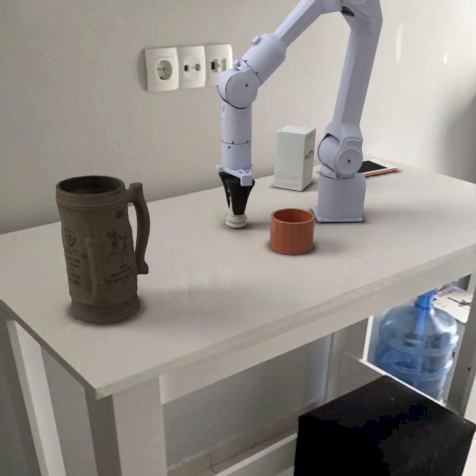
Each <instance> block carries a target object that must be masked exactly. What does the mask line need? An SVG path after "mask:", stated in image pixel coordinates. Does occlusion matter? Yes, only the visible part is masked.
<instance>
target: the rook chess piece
mask: <svg viewBox="0 0 476 476" xmlns="http://www.w3.org/2000/svg"><path fill="white" fill-rule="evenodd" d="M228 191H229V190H228ZM229 198H230V209H229V208H228V209H229V210H228V212H227V214H226V215H225V225H226V226H227V227H228V228H231V229H242V228H245V227H246V225H247V224H248V221H247V219H248V217H247V215H246V212H245V213H244V215H234V214H233V211H232V204H231V197H229Z"/></svg>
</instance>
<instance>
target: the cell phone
mask: <svg viewBox="0 0 476 476" xmlns="http://www.w3.org/2000/svg"><path fill="white" fill-rule="evenodd" d="M397 171H398V167H397V166H395V165H393V164H390V163H388V162H386V161H382V160H380V159H377V158H372V159H370V158H369V159H366V160H363V162H362V165H361V167H360V169H359V170H358V172H357V173H363V174H364V175H365V177H370V176H375V175H379V174H385V173H386V174H387V173H391V172H397Z"/></svg>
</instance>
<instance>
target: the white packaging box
mask: <svg viewBox="0 0 476 476" xmlns="http://www.w3.org/2000/svg"><path fill="white" fill-rule="evenodd" d="M316 134H317V127H313V126H312V127H310V126H304V125H302V126H301V125H293V124H292V125H291V124H287V125H284V126H283V127H282V128H280V129H278V130H276V132H275V150H274V153H275V154H274V171H273V187H274V188H280V189H284V190H291V191H292V190H293V191H298V192H302V191H303V190H304V189H305V188H306V187H308V186H309V185H310V184H312V182H313V174H314V173H313V172H314V162H315V161H314V159H315V148H316V147H315V146H316V136H317V135H316Z"/></svg>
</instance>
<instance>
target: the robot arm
mask: <svg viewBox="0 0 476 476" xmlns="http://www.w3.org/2000/svg"><path fill="white" fill-rule="evenodd" d="M337 12H339V13H340V14H341V15H342V17H343V19H344V20H345V21H346V23H347V25H348V26H349V28H350V31H349V37H348V41H347V46H346V51H345V56H344V60H343V66H342V70H341V76H340V81H339V85H338V90H337V95H336V100H335V104H334V110H333V114H332V118H331V120H330V122H329V123H328V124H327V125H326V126H325V128H324V132H323V135H322V138H321V139H320V140H319V142H318V144H317V146H316V158H317V160H318V162H320V168H319V177H318V179H319V180H318V190H317V191H318V192H317V204H316V206H313V207H312V208H311V209H312V210H311V211H312V213H313V214H314V215H315V220H316V221H317V222H318V223H347V222H348V223H350V222H351V223H355V222H356V223H357V222H360V223H361V222H363V220H364V218H363V215H364V214H363V213H364V208H365V207H364V206H365V198H366V190H367V189H366V188H367V179H366V176H365V175H364V174H363V173H357V172H358V170H359V169H360V167H361V165H362V162H363V161H364V154H363V143H364V137H363V132H362V130H361V126H360V124H361V120H362V114H363V110H364V106H365V102H366V97H367V93H368V89H369V85H370V80H371V75H372V72H373V67H374V62H375V59H376V58H375V57H376V54H377V49H378V45H379V41H380V36H381V32H382V27H383V22H384V18H383V12H382V6H381V1H380V0H299V2H298V3H297V4H296V5H295V7H294V8H293V9H292V10H291V11H290V13H289V14H288V15H287V16H286V18H285V19H284V20H283V21H282V22H281V24H279V26H278V27H277V28H276V30H275V31H274V32H273V33H262V35H261V36H258V35H256V36H255V37H253V39H252V40H251V43H252V46H250V48H249V49H248V50H247V51H246V52H245V53H244V54H243V55H242V56H241V58H240V59H235V60H234V61H233V64H232V65H233V67H231V68H227V69H226V70H224V71H223V72H222V74H221V75H220V77H219V79H218V80H219V81H218V83H217V84H216V91H217V94H218V96H219V97H220V99H221V114H220V121H221V122H220V126H221V127H220V131H221V133H220V134H221V136H220V137H221V138H220V139H221V141H220V143H221V162H220V163H217V164H215V169H216V170H217V171H218V176H219V178H220V181H221V184H222V186H223V191H224V193H225V198H226V199H225V200H226V203H227V208H228V209H230V198H229V197H231V204H232V211H233V214H234V215H244V213H245V214H246V209H247V205H248V200H249V197H250V195H251V192H252V190H253V188H254V186H255V185H256V180H255V179H254V178H253V174H252V173H253V172H252V171H253V163H252V147H253V146H252V144H253V143H252V139H253V136H252V135H253V103H254V102H255V101H256V99H257V96H258V91H259V88H261V87H262V85H264V84H265V83H266V81H267V80H268V79H269V78H270V77H271V76H272V75H273V74H274V73H275V72H276V71H277V70H278V69H279V67H280V66H282V64H283V63H284V62H285V61H286V57H287V56H286V55H287V49H288V47H290V46H291V45H292V43H294V42H295V41H296V40H297V39H298V38H299V37H300V36H301V35H302V34H303V33H304V32H305V31H306V30H307V29H308V28H309V27H310V26H311V25H313V23H314V22H315V21H316V20H317V19H318V18H320V16H321V15H326V14H330V13H331V14H332V13H337ZM228 190H229V191H228Z"/></svg>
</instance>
